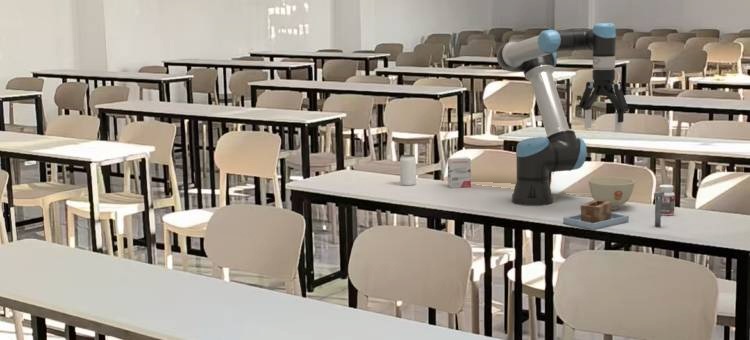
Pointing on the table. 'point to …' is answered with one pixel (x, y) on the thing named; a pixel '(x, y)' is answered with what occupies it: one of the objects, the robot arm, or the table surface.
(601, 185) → the bowl
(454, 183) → the ink box
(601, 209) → the brown wooden hollow block
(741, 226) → the table surface
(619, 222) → the tray
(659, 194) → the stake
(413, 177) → the can
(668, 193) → the pill bottle
